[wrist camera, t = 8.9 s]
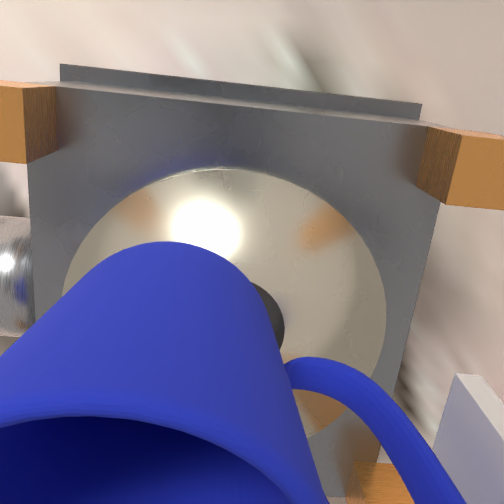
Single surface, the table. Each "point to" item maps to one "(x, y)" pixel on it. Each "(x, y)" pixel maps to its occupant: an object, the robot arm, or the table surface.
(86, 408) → the mug
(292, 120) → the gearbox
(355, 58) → the table surface
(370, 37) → the table surface
